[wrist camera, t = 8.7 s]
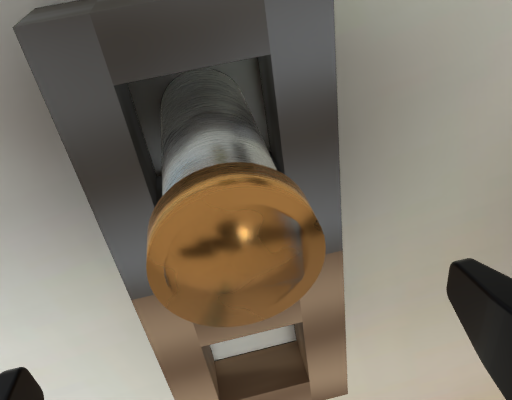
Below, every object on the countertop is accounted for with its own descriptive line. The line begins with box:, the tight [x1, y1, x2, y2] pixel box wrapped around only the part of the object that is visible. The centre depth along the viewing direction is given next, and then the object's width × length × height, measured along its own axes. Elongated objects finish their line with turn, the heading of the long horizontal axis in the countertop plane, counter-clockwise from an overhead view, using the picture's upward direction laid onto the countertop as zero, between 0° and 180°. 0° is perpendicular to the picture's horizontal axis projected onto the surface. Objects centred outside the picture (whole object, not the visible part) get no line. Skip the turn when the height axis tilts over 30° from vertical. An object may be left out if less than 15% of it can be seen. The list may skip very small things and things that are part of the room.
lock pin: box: [146, 69, 326, 327], centre depth 15 cm, size 4×4×10 cm
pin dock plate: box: [13, 0, 348, 400], centre depth 22 cm, size 24×10×3 cm, turn 8°
